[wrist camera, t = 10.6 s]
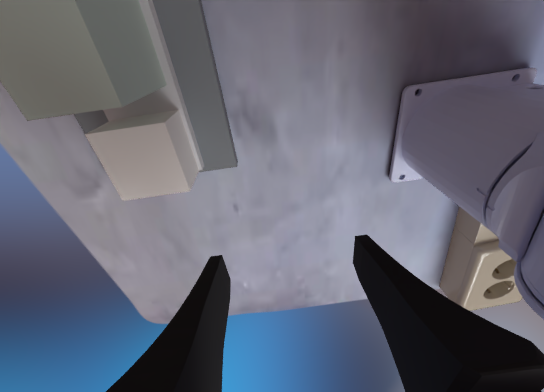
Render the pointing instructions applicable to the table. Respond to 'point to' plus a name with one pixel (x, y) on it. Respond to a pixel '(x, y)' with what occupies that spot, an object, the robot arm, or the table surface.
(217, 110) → the rail board
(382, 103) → the table surface
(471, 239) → the electrical outlet
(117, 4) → the block
